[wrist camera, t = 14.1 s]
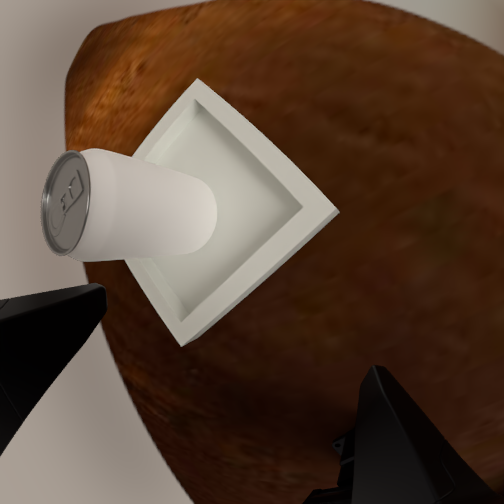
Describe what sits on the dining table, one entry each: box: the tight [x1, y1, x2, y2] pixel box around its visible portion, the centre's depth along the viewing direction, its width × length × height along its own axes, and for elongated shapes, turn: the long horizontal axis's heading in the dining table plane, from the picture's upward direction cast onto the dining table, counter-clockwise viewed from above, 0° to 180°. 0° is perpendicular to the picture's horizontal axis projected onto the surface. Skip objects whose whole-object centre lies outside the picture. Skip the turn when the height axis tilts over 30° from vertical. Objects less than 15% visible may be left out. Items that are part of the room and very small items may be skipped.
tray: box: [124, 78, 339, 347], centre depth 23 cm, size 16×16×2 cm
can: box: [41, 149, 217, 262], centre depth 18 cm, size 6×6×12 cm
